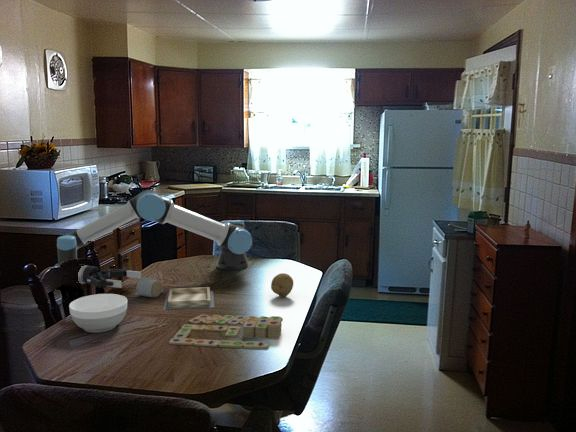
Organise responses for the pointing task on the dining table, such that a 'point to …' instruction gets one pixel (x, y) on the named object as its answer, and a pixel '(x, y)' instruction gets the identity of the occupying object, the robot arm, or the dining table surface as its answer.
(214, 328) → the pile of dominoes
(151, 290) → the ceramic mug
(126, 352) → the dining table surface
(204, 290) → the tray
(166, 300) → the mat
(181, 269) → the dining table surface
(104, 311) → the bowl
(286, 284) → the natural sponge
